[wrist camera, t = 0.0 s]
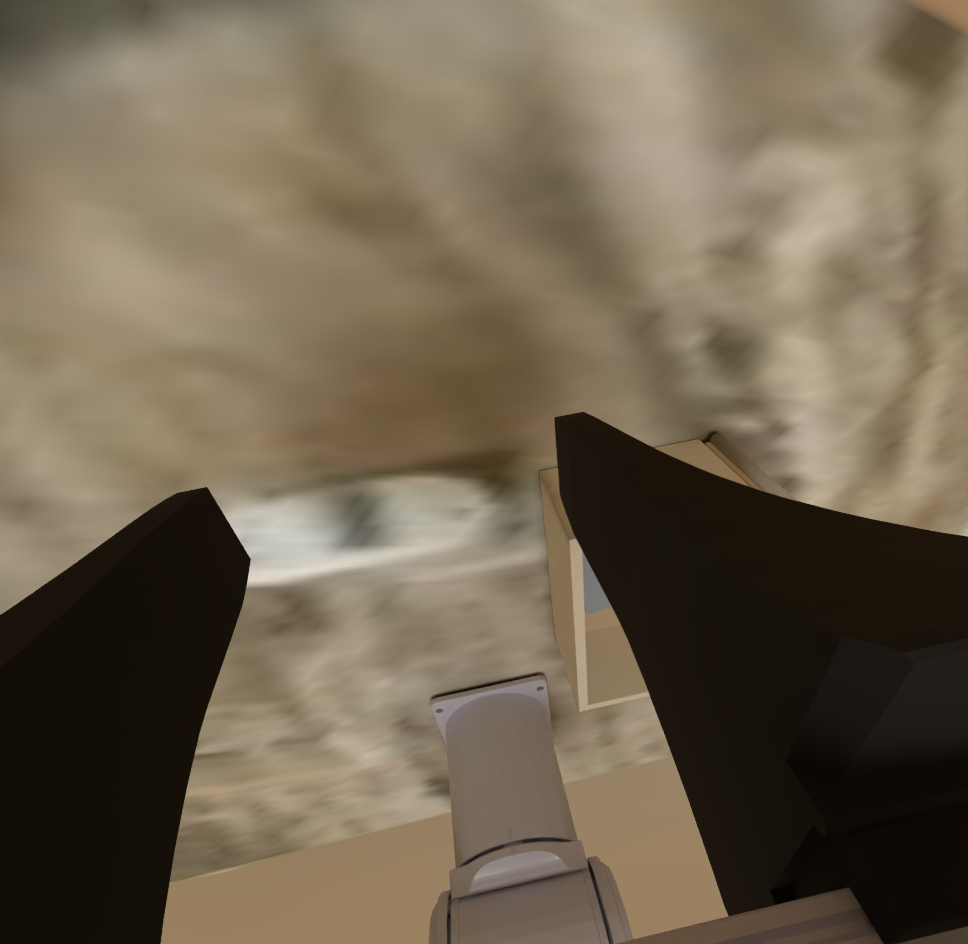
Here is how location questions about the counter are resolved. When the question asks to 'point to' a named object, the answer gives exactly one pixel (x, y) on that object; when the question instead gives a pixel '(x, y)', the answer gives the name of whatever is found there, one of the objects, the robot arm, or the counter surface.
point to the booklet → (592, 590)
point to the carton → (599, 636)
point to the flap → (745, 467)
